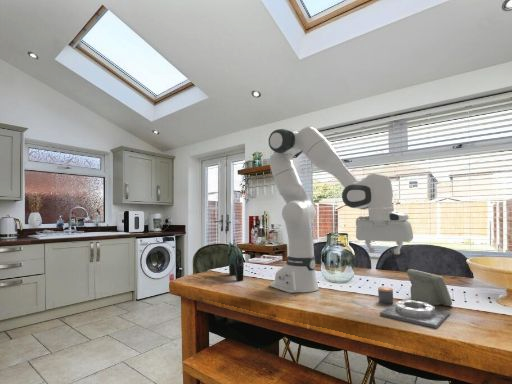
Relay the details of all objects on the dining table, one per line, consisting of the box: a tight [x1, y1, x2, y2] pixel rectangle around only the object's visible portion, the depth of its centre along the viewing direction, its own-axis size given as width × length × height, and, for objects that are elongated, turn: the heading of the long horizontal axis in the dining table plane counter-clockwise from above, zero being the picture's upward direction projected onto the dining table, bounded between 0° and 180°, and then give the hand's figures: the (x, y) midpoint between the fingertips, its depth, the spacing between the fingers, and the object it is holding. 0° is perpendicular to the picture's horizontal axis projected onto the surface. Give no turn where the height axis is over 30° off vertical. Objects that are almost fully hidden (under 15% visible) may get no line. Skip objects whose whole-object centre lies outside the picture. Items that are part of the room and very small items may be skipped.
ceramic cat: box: [226, 239, 245, 282], centre depth 157 cm, size 20×6×20 cm, turn 17°
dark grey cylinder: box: [377, 286, 394, 306], centre depth 109 cm, size 5×5×5 cm
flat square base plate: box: [379, 299, 451, 329], centre depth 96 cm, size 16×16×3 cm
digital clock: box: [406, 268, 453, 307], centre depth 110 cm, size 16×9×11 cm, turn 3°
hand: (384, 253), depth 110 cm, fingers open, 8 cm apart
